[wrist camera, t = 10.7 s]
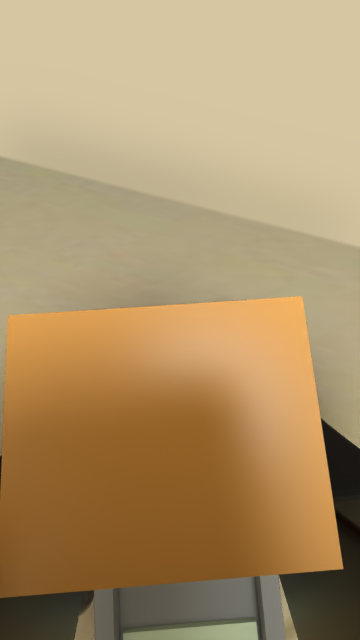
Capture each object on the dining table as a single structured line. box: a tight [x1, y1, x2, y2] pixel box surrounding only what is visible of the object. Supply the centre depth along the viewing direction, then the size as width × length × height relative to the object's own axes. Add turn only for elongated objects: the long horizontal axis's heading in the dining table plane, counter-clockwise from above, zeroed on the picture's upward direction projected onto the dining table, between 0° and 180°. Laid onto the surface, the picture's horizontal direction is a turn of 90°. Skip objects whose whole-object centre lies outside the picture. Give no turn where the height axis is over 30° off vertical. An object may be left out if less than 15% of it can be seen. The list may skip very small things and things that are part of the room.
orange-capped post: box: [0, 296, 343, 598], centre depth 8 cm, size 5×5×10 cm
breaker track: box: [79, 299, 286, 640], centre depth 13 cm, size 16×13×3 cm
